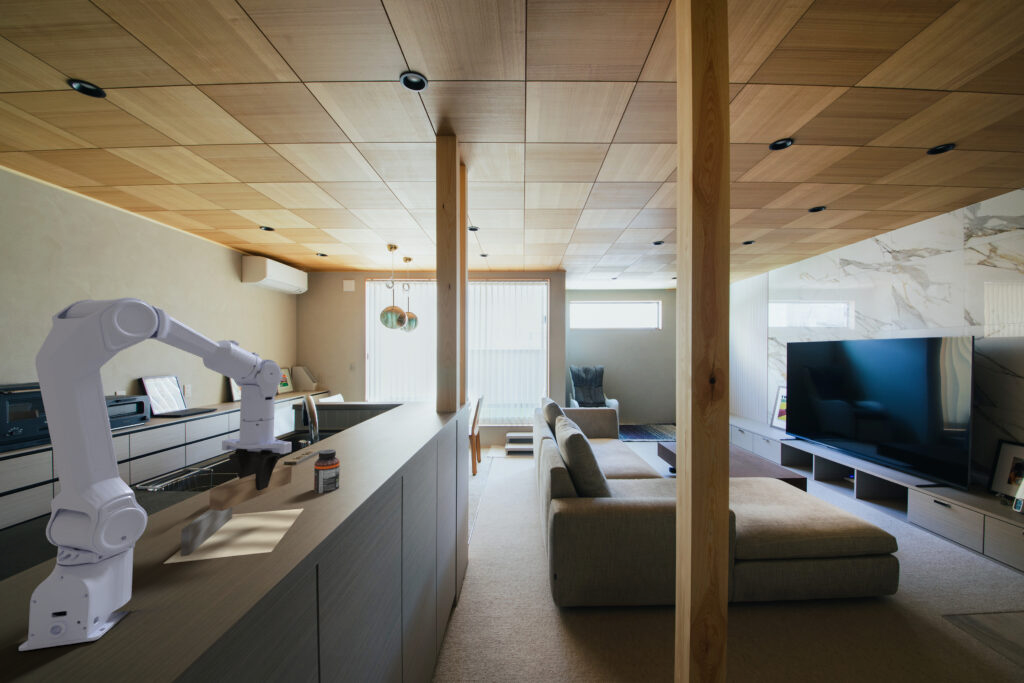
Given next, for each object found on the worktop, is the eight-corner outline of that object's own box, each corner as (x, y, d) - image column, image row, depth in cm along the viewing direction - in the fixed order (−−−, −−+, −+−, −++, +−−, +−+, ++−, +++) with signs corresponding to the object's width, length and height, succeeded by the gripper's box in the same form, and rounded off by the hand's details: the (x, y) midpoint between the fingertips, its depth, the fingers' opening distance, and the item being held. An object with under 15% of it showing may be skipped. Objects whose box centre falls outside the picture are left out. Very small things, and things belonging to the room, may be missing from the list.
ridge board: (270, 560, 67) (271, 525, 68) (163, 572, 64) (164, 535, 64) (303, 515, 87) (304, 488, 87) (222, 522, 83) (223, 494, 83)
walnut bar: (222, 510, 68) (223, 490, 68) (209, 509, 68) (210, 489, 68) (291, 482, 83) (291, 465, 84) (280, 481, 84) (280, 464, 84)
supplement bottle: (314, 492, 101) (315, 449, 102) (338, 489, 104) (339, 447, 104) (313, 500, 96) (314, 454, 96) (339, 496, 98) (340, 452, 99)
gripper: (303, 417, 79) (301, 484, 78) (244, 415, 82) (242, 479, 81) (276, 422, 72) (274, 496, 72) (212, 420, 75) (210, 490, 74)
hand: (255, 488), depth 76 cm, fingers closed on walnut bar, 3 cm apart
